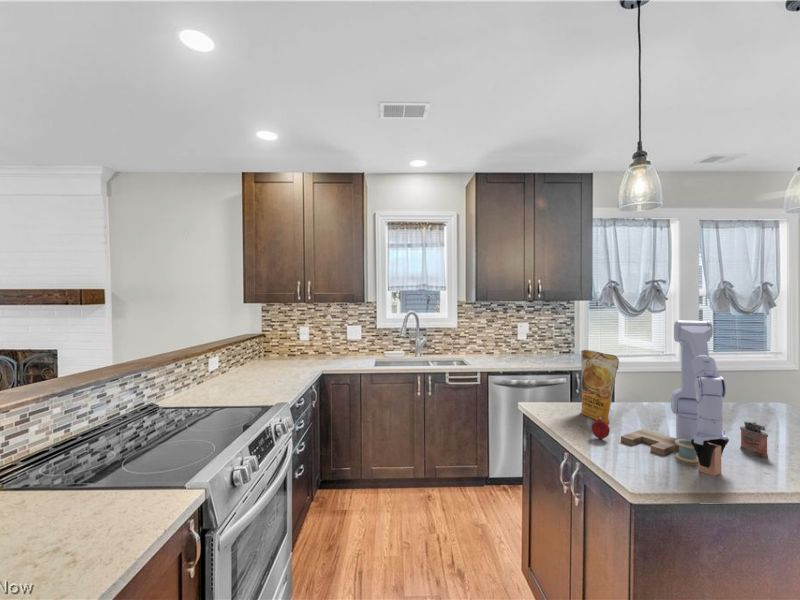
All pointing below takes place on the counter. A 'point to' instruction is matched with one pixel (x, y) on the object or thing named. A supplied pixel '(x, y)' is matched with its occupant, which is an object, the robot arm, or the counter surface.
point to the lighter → (754, 439)
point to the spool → (686, 451)
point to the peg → (713, 462)
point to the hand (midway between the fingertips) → (709, 463)
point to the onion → (600, 429)
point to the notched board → (652, 441)
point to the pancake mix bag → (597, 383)
